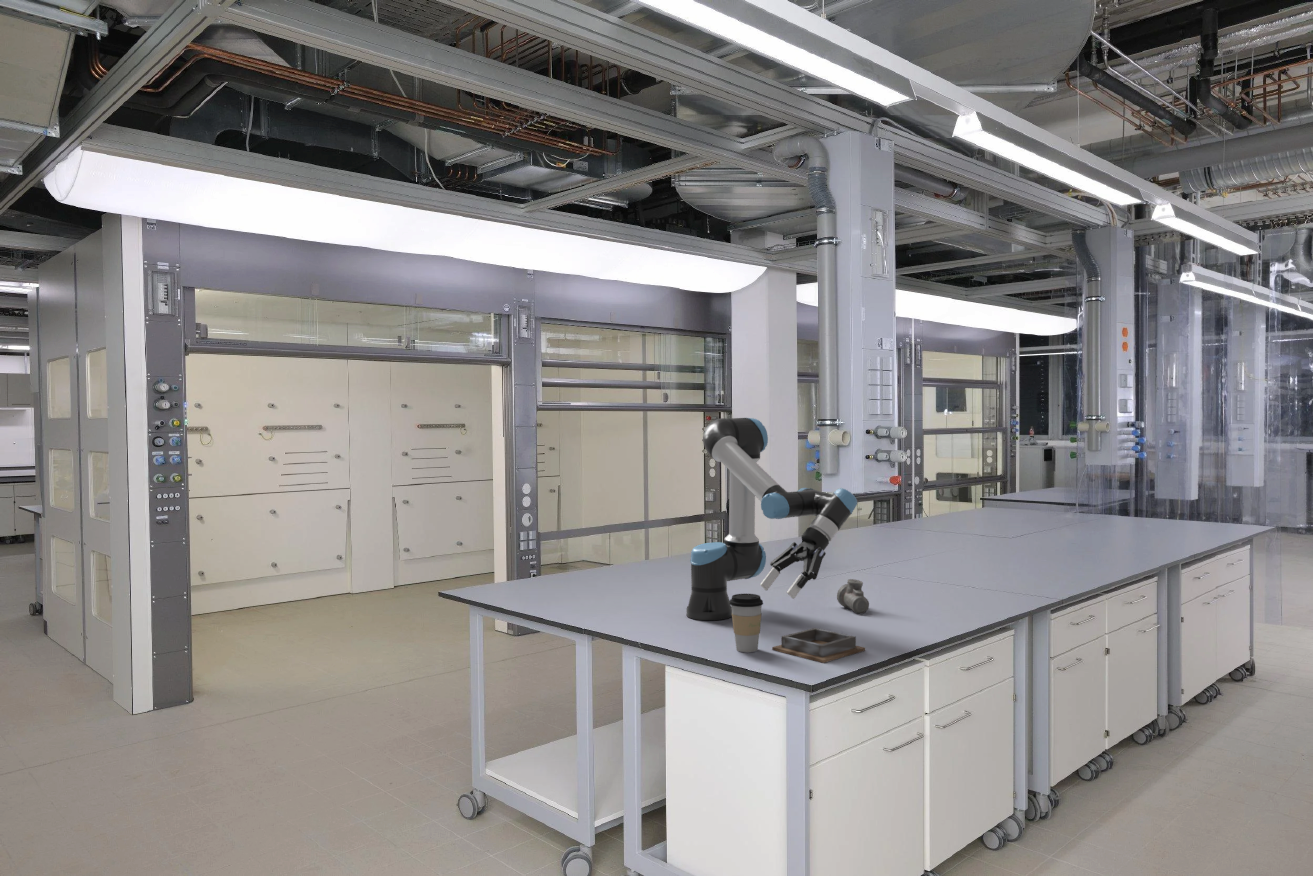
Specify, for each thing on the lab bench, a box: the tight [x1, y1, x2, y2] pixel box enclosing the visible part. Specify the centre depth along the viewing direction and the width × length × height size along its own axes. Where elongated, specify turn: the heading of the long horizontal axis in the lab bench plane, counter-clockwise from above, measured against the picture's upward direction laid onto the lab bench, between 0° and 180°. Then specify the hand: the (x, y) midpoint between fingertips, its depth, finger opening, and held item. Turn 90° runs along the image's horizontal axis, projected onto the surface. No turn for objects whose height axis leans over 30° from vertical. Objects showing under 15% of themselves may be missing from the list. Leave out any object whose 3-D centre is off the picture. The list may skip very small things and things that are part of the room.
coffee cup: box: [729, 593, 764, 654], centre depth 245 cm, size 9×9×15 cm
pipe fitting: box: [836, 578, 870, 615], centre depth 293 cm, size 12×8×10 cm
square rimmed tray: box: [771, 627, 866, 664], centre depth 244 cm, size 18×18×4 cm
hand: (776, 591), depth 248 cm, fingers open, 13 cm apart
